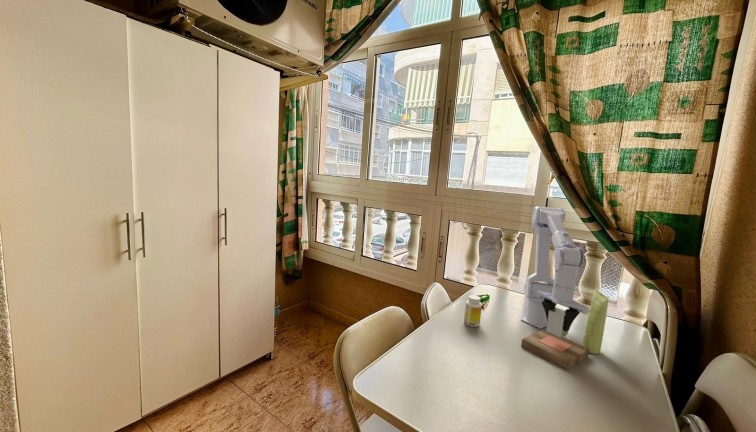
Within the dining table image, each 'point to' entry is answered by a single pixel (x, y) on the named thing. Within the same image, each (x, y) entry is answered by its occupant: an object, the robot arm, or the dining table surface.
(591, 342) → the tube
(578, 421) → the dining table surface
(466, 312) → the supplement bottle
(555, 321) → the steel column
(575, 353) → the board
